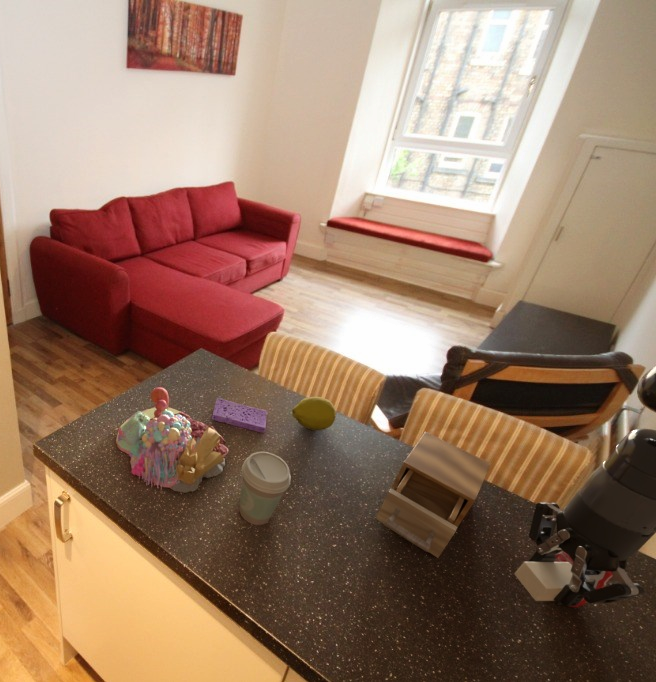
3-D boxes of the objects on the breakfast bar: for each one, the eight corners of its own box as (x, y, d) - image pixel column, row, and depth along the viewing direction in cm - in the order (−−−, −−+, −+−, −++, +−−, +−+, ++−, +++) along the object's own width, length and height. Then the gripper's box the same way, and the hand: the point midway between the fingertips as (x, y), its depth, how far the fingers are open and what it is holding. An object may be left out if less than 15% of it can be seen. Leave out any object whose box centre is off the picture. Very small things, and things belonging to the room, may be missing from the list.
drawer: (429, 576, 75) (447, 548, 71) (365, 533, 81) (378, 506, 77) (456, 518, 86) (473, 491, 82) (397, 484, 92) (411, 458, 88)
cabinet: (453, 533, 84) (475, 500, 79) (387, 494, 91) (404, 462, 86) (470, 495, 92) (491, 463, 88) (409, 462, 99) (425, 431, 95)
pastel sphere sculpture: (243, 444, 100) (251, 412, 96) (194, 514, 83) (201, 479, 78) (150, 400, 111) (153, 370, 107) (90, 454, 94) (90, 420, 89)
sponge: (216, 403, 113) (217, 397, 112) (266, 416, 110) (268, 410, 109) (211, 420, 107) (212, 414, 106) (264, 434, 104) (265, 427, 103)
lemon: (326, 417, 111) (336, 391, 107) (337, 439, 104) (347, 412, 100) (283, 413, 111) (291, 388, 107) (291, 435, 104) (299, 408, 100)
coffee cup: (235, 488, 89) (247, 444, 83) (279, 502, 87) (294, 457, 81) (228, 522, 82) (240, 476, 76) (275, 538, 80) (291, 492, 74)
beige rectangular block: (558, 574, 66) (568, 561, 65) (581, 601, 63) (593, 588, 61) (513, 574, 66) (523, 561, 64) (535, 601, 62) (546, 588, 61)
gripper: (544, 463, 62) (488, 542, 70) (649, 557, 49) (565, 640, 58) (595, 464, 62) (533, 543, 71) (711, 558, 50) (619, 639, 58)
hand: (548, 586), depth 64 cm, fingers closed on beige rectangular block, 4 cm apart
